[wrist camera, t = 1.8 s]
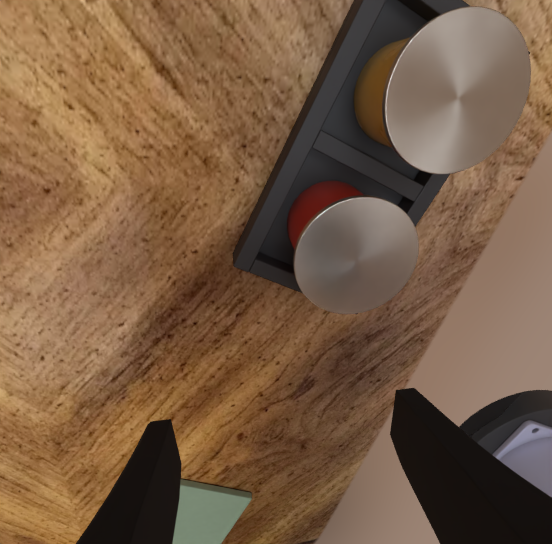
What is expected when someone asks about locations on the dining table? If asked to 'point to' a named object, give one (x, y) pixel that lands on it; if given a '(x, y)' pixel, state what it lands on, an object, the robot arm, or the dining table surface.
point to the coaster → (207, 512)
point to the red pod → (350, 247)
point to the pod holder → (339, 140)
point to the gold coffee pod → (446, 90)
